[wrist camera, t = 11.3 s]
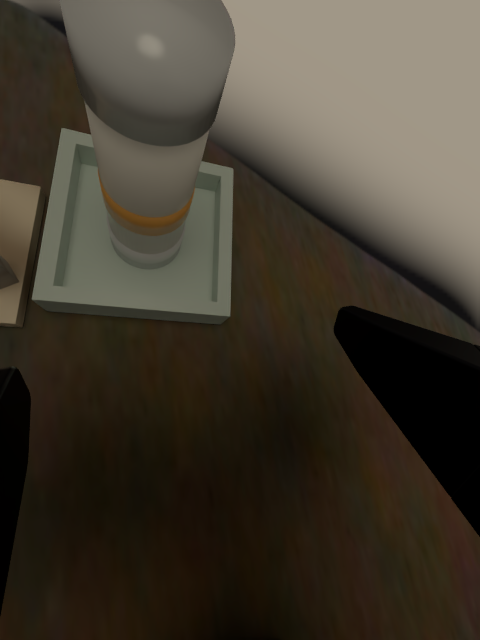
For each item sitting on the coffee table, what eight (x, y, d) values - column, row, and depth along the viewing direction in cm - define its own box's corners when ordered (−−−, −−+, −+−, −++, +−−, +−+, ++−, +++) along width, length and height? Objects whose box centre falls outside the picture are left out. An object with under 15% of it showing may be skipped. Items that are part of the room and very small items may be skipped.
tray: (220, 324, 20) (230, 316, 17) (46, 311, 17) (31, 299, 14) (224, 190, 22) (233, 168, 20) (71, 158, 19) (61, 128, 17)
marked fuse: (186, 266, 19) (249, 93, 8) (115, 272, 18) (68, 70, 6) (175, 206, 20) (218, -34, 8) (105, 206, 18) (48, -81, 7)
